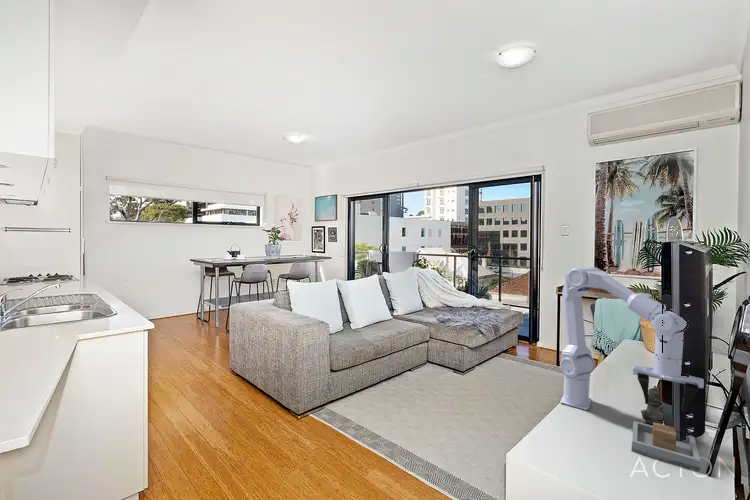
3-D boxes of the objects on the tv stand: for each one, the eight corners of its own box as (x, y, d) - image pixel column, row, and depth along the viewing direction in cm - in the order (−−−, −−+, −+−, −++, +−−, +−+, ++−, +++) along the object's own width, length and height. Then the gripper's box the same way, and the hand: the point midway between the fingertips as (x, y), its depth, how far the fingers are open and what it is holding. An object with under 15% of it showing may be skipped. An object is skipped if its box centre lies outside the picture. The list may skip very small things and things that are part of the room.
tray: (632, 429, 104) (633, 420, 104) (693, 446, 97) (694, 436, 97) (631, 450, 94) (632, 441, 94) (699, 471, 86) (700, 460, 86)
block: (652, 438, 98) (653, 422, 98) (673, 444, 96) (675, 427, 95) (652, 446, 95) (653, 429, 94) (675, 452, 92) (676, 435, 92)
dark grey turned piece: (654, 433, 103) (657, 390, 102) (634, 422, 108) (637, 382, 108) (670, 430, 104) (673, 389, 104) (650, 420, 110) (652, 380, 109)
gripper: (633, 354, 98) (630, 404, 99) (706, 367, 90) (703, 421, 91) (634, 347, 104) (631, 395, 105) (703, 359, 96) (699, 410, 96)
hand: (664, 407), depth 98 cm, fingers open, 7 cm apart
